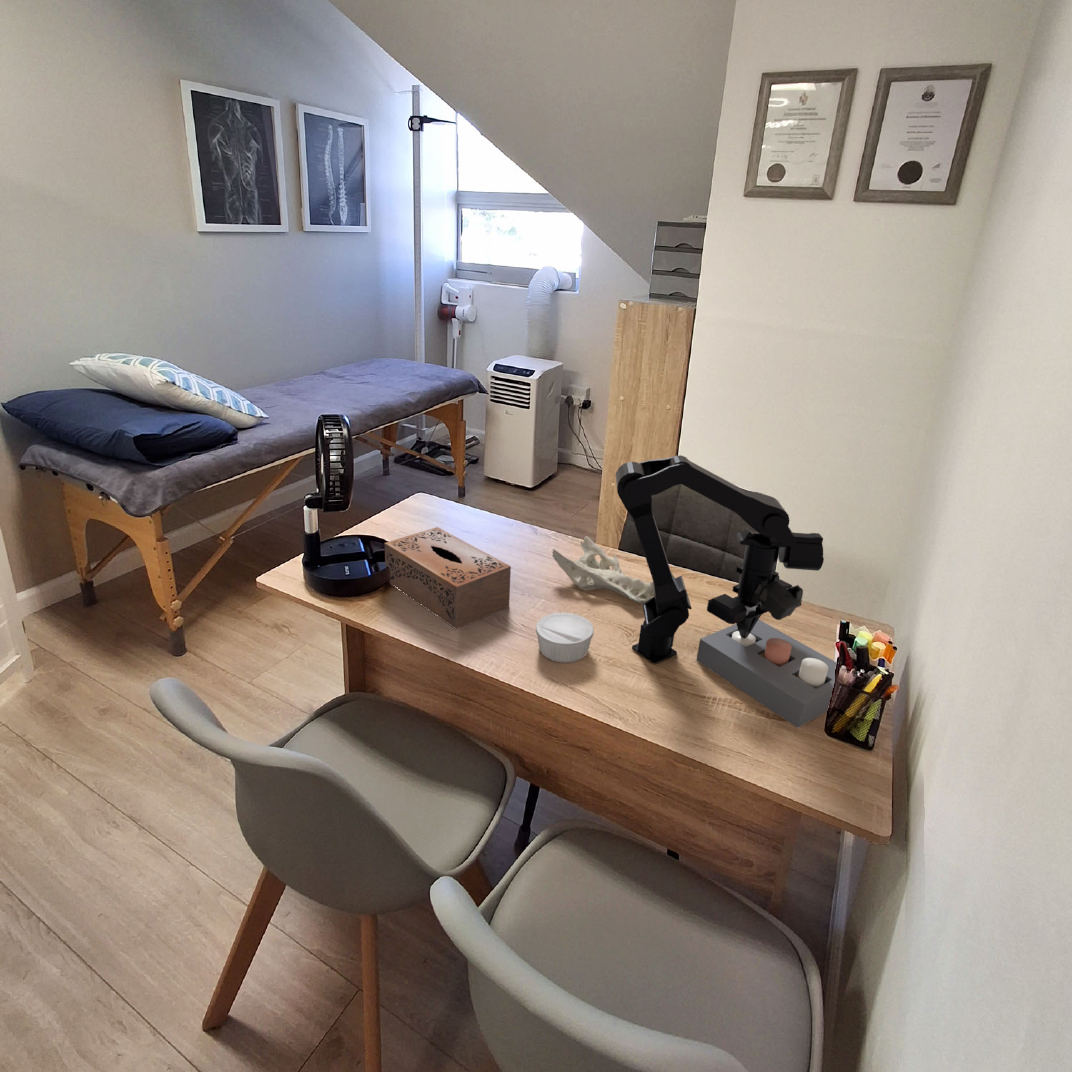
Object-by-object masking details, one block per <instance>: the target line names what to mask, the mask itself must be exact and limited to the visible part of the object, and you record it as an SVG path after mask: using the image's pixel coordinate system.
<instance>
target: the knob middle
mask: <svg viewBox="0 0 1072 1072" xmlns="http://www.w3.org/2000/svg"><path fill="white" fill-rule="evenodd" d="M791 648H792V646H791V644H790V643H789V642H787V641H785V640H783V639H779V638H770V639H768V640H767V643H766V647H765V652H764V653H763V656H762V657H764V658H765V659H767V660H769V661H770V662H772V663H774V664H775V665H777V666H779V667H780V666H782V665H784V664H786V663H788V661H789V657H790V653H791Z"/></svg>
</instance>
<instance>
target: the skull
mask: <svg viewBox="0 0 1072 1072" xmlns="http://www.w3.org/2000/svg"><path fill="white" fill-rule="evenodd" d="M580 546H581V549H582V551H583V552H584V554H583V555H582V556H580V557H579V558H578V559H576V560H574V561H573V560H572V559H570V558H568V557H566V556H564V555H563V554H561V553H560V552H559V551H558V550H557V549H555V548H552V554H551V555H552V558H553V559H554V561H556V563H557V565H558V567H559V568H561V570H563V572H564V573H565V574H566V576H567V577H568V578H569V580H571V581H572V582H573V584H574V585H575V586H576V587H578V588H579V589H581V590H582V591H593V590H595V589H605V590H609V591H612V592H615V593H617V594H619V595H621V596H623V597H626V598H627V599H629V600H631V601H633V602H635V603H637V604H639V605H643V603H645V602H646V601H648V600H649V599H651V598H652V597H654V588H653V581H649V582H645V581H644V580H642V579H640V578H634V577H631V576H629V575H626V574H625V573H624V572H623V570H622V569H621V567H620V562H619V560H618V556H617V555H616V554H615V553H613V556H614V557H610V556H608V555H607V554H606V552H605V550H604V549H602V547H600V546H599V545H598V544H596V543H595V542H594V541H593V540H592V539H591V538H590V537H589V536H586V535H584V538H583V540H581V541H580ZM596 556H599V558H600V561H598V560H597V559H596V558H595V557H596Z"/></svg>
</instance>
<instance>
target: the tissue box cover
mask: <svg viewBox="0 0 1072 1072" xmlns="http://www.w3.org/2000/svg"><path fill="white" fill-rule="evenodd" d="M384 561H385V562H384V563H385V567H386V566H387V567H389V569H390V581H391V583H392V584H393V585H395V586H396V587H398V589H400V590H401V591H402V592H404V593H405V594H407V595H408V596H409V597H411V598H412V599H414V600H415V601H416V603H417V602H418V603H420V604H422V606H421V607H423V606H424V607H426V608H427V609H429V610H430V611H431V612H430V611H429V610H428V611H429V612H430V613H432V612H433V613H434V614H433V613H432V614H433V615H435V614H436V615H438V616H439V617H441V618H442V619H444V620H445V621H446V622H448V623H449V624H451V625H452V626H453V627H452V626H451V625H450V626H451V627H452V628H454V627H455V628H456V629H455V628H454V629H455V630H458V629H460V628H462V627H465V626H467V625H469V624H472V623H474V622H476V621H479V620H481V619H483V618H485V617H487V616H490V615H492V614H494V613H497V612H499V611H501V609H502V610H503V609H506V608H508V607H510V597H511V596H510V593H511V571H512V569H511V568H512V566H511V565H509V564H507V563H505V562H503V561H502V560H500V559H498V558H497V557H494V556H492V555H490V554H489V553H486V552H485V551H483V550H481V549H479V548H477V547H475V546H474V545H472V544H470V543H468V542H466V541H464V540H463V539H460V538H459V537H457V536H455V535H453V534H452V533H450V532H447V531H445V530H444V529H442V528H440V527H438V526H436V527H433V528H429V529H427V530H426V529H425V530H422V531H420V532H417V533H413V534H410V535H406V536H404V537H400V538H396V539H393V540H391V541H387V542H384ZM398 589H397V590H398ZM401 591H400V592H401ZM402 592H401V593H402ZM404 593H403V594H404ZM405 594H404V595H405ZM408 596H407V597H408ZM409 597H408V598H409ZM411 598H410V599H411ZM412 599H411V600H412ZM414 600H413V601H414ZM415 601H414V602H415ZM418 603H417V604H418ZM420 604H419V605H420ZM424 607H423V608H424ZM426 608H425V609H426ZM427 609H426V610H427ZM436 615H435V616H436ZM438 616H437V617H438ZM439 617H438V618H439ZM441 618H440V619H441ZM442 619H441V620H442ZM478 619H479V620H478ZM444 620H443V621H444ZM445 621H444V622H445ZM471 622H472V623H471ZM448 623H447V624H448ZM449 624H448V625H449ZM464 625H465V626H464ZM459 627H460V628H459ZM457 628H458V629H457Z"/></svg>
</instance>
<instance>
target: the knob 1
mask: <svg viewBox="0 0 1072 1072" xmlns="http://www.w3.org/2000/svg"><path fill="white" fill-rule="evenodd" d="M732 639H734V640H736V641H737V642H739V643H741V644H742V645H744V646H745V647H747V646H749V645H751V644H753V643H755V641H756V638H755V636H754V635H752V634H751V633H750V634H749V635H748V637H747V638H742V637H741V636H740V633H739V631H736V632H734V633H733V634H732Z"/></svg>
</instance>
